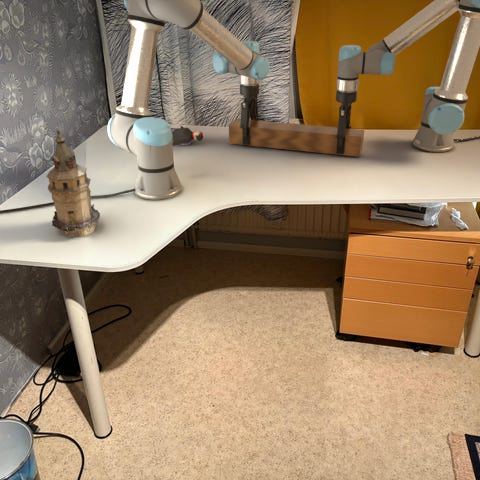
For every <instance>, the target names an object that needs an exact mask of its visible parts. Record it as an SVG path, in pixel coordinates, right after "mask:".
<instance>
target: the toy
mask: <svg viewBox="0 0 480 480" xmlns="http://www.w3.org/2000/svg"><path fill="white" fill-rule="evenodd" d="M171 132H172V145H173V147H175V146H178V145H182V146H188V145H191V143H193V142H194V141H195V142H201V141H202V140H203V139H204V133H203V131H200V130H194V131H192V130H191V129H190V128H189V127H184V126H183V125H179V126H178V127H171Z"/></svg>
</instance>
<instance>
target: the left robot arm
mask: <svg viewBox="0 0 480 480" xmlns="http://www.w3.org/2000/svg"><path fill="white" fill-rule="evenodd" d="M123 4H124V7H125V9H126V10H127V12H128V14H127V21H128V23H129V25H130V37H129V44H128V52H127V59H126V67H125V75H124V82H123V88H122V89H123V90H122V97H121V103H120V104H119V105H117V106H116V108H115V113H114V114H113V115H112V117H111V118H110V119H109V120H108V123H107V128H106V129H107V135H108V138H109V140H110V141H111V142H112V144H114V145H115V146H116V147H117V148H119V149H120V150H123V151H125V152H128V153H130V154H132V155H135V156H136V161H137V175H136V179H135V184H134V188H132V189H126V190H122V191H119V192H118V191H117V192H115V193H110V194H109V193H108V194H97V195H90V197H91V199H101V198H103V199H104V198H111V197H116V196H117V197H118V196H120V195H123V194H128V193H132V192H133V193H135V195H136V196H137V197H138V198H141V199H143V200H148V201H161V200H168V199H171V198H174V197H176V196H178V195H179V194H180V193H181V192H182V183H181V180H180V177H179V176H178V173H177V171H176V169H175V161H174V160H175V159H174V158H175V157H174V146H173V145H172V132H171V128H172V127H171V124H170V123H169V122H168V121H167V120H165V119H163V118H161V117H153V116H152V112H151V111H150V108H149V103H150V95H151V90H152V89H151V88H152V81H153V75H154V68H155V63H156V62H155V61H156V56H157V55H156V54H157V47H158V40H159V34H160V32H162V31H163V30H164V29H165V26H166V22H168V23H172V24H174V25H176V26H178V27H180V29H182V30H184V31H190V32H191V33H192V34H193V35H195V36H196V37H198V39H200V40H201V41H202V42H204V43H205V44H206V45H208V47H210V48H211V49H213V51H215V52H216V53H215V54H214V55H213V58H212V66H213V70H214V71H215V72H216V73H217V74H218V75H227V74H233V75H237V76H239V95H241V96H243V100H242V101H241V103H240V112H241V113H240V119H241V124H240V128H242V139H243V144H247V145H246V146H249V144H250V129H249V120H256V121H260V118H259V101H258V98H259V97H258V96H259V94H260V84H259V83H260V80H263V79H266V77H268V75H269V73H270V71H271V70H270V69H271V64H270V61H269V60H268V58H267V57H264V56H261V52H260V44H259V42H258V41H255V40H242V41H241V40H239V39H238V38H237V36H235V35H234V34H233V33H232V32H231V31H229V30H228V29H227V27H225V26H224V25H223V24H221V22H219V20H217V19H216V18H214V16H212V15H211V14H210V13H209V12H208V11H207V10H206V9H205V5H204V3H203V2H202V1H200V0H123ZM49 206H55V205H54V201H53V202H47V203H41V204H40V203H39V204H33V205H27V206H22V207H15V208H8V209H2V210H0V214H4V213H11V212H19V211H24V210H30V209H37V208H42V207H49Z"/></svg>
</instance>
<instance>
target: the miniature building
mask: <svg viewBox="0 0 480 480" xmlns="http://www.w3.org/2000/svg"><path fill="white" fill-rule="evenodd" d="M56 134H57V136H56V138H55V140H54V141H55V142H56V147H55V154H54V156H52V157H51V161H52V162H53V165H54V167H53V168H51V169H50V170H49V171H48V173H47V174H46V178H47V179H48V182H49V184H48V186H47V190H48V191H49V193H50V194H51V200H52V201H53V202H54V205H53V206H54V209H55V211H53V217H52V220H51V223H52V225H51V227H54V228H56V229H58V230H59V231H60V234H63V235H64V234H65V235H66V236H69V237H77V236H80V237H83V236H87V235H88V234H90V233H93V232H94V231H95V229H96V226H97V225H98V223H99V220H100V216H101V213H100V212H99V210H98V209H96V208H95V204H92V201H91V200H92V198H91V197H90V196H91V192H92V191H91V188H90V184H91V178H89V177H88V174H87V167H85V166H84V165H83V166H82V165H80V164H77V160H76V154H75V151H74V150H70V149H69V147H68V145H67V143H66V138H65V137H64V136H63V135H61V130H60V129H56Z"/></svg>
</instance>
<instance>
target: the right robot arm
mask: <svg viewBox="0 0 480 480" xmlns="http://www.w3.org/2000/svg"><path fill="white" fill-rule="evenodd" d="M456 12H459V15H460V16H459V21H458V24H457V28H456V31H455V33H454V38H453V40H452V45H451V48H450V51H449V55H448V58H447V62H446V65H445V69H444V72H443V75H442V79H441V83H440V86H430V87H427V88H426V89H425V94H424V101H423V108H422V113H421V121H420V126H419V128H418V130H417V132H416V134H415V135H414V138H413V142H412V146H413V147H414V148H415V149H418V150H420V151H422V152H423V151H424V152H429V153H447V152H451V151H453V149H454V147H455V142H468V141H472V140H477V139H480V135H478V136H479V137H477V136H473V137H474V138H472V137H468V138H454V133H455V132H457V131H459V130H460V129H461V127H462V126H463V124H464V122H465V108H466V106H467V103H468V99H469V97H468V95H467V93H466V91H467V88H468V84H469V81H470V78H471V74H472V71H473V69H474V66H475V62H476V59H477V56H478V52H479V49H480V0H433V1H431V2H430V3H429V4H428V5H427V6H425V7H423V9H421V10H420V11H418V12H417V13H415V15H413V16H412V17H411V18H409V19H408V20H406V21H405V22H404V23H402V24H401V25H400V26H399V27H397V28H396V29H395V30H394V31H392V32H390V33H389V34H388V35H386V36H385V37H384V38H383V39H382V40H380V41H378V42H377V43H375V44H373V45H371V46H370V47H369V48H368V50H367V51H362V47H361V46H360V45H355V44H345V45H342V46H341V47H340V49H339V53H338V61H337V77H336V92H335V101H336V102H337V103H340V106H339V108H338V122H337V128H338V130H337V135H336V137H338V138H337V151H336V154H335V155H337V154H344V145H345V129H346V128H348V129H352V126H351V117H352V115H351V114H352V104H353V103H356V102H357V98H358V86H359V85H361V84H360V81H359V76H360V75H372V76H373V75H374V76H391V75H393V74H394V72H395V66H396V65H395V64H396V56H397V55H398V54H400V53H401V52H403V50H405V49H407V48H408V47H409V46H411V45H412V44H413V43H415V42H417V41H418V40H419V39H420V38H421V37H423V36H425V35H426V34H427V33H429V31H431V30H433V29H434V28H435V27H437V26H438V25H439V24H441V23H442V22H444V21H445V20H447V19H448V18H449V17H451V16H452V15H453V14H455V13H456ZM461 139H463V140H461ZM457 140H458V141H457Z"/></svg>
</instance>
